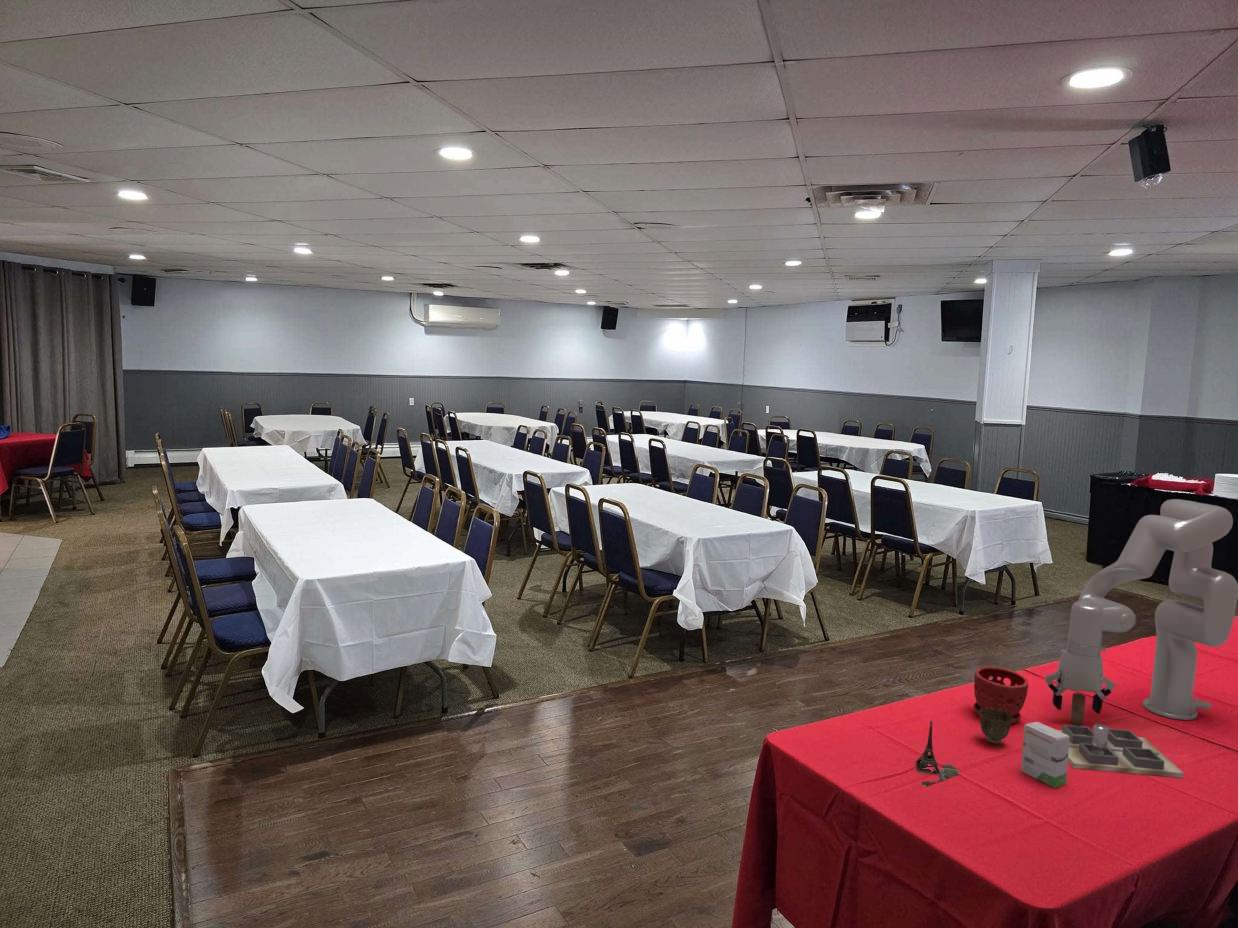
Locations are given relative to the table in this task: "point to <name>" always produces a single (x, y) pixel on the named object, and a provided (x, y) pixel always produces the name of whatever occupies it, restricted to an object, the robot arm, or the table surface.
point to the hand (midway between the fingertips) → (1076, 709)
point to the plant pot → (1000, 691)
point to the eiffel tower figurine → (933, 763)
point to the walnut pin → (1077, 709)
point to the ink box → (1045, 754)
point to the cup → (995, 724)
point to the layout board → (1116, 752)
